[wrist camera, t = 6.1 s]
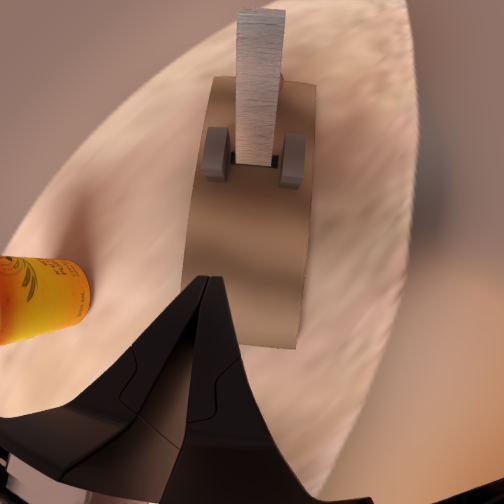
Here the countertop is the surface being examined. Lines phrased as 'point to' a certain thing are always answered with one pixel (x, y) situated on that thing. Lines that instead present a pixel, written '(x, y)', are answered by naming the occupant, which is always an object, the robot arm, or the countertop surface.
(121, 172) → the countertop surface
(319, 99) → the countertop surface
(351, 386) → the countertop surface
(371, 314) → the countertop surface
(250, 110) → the lever
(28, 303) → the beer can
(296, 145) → the base
